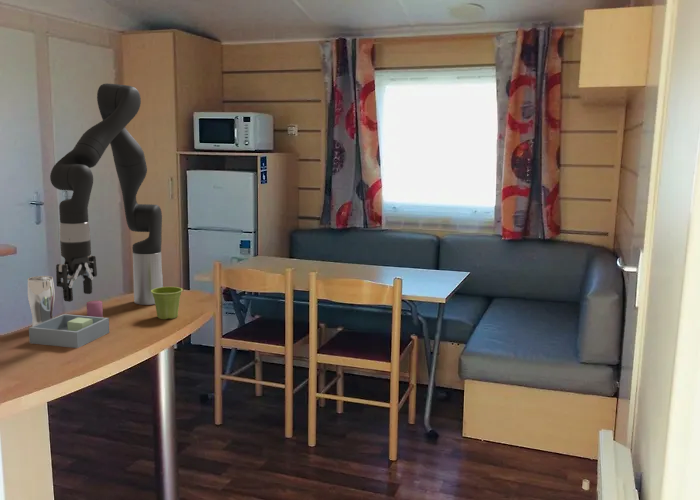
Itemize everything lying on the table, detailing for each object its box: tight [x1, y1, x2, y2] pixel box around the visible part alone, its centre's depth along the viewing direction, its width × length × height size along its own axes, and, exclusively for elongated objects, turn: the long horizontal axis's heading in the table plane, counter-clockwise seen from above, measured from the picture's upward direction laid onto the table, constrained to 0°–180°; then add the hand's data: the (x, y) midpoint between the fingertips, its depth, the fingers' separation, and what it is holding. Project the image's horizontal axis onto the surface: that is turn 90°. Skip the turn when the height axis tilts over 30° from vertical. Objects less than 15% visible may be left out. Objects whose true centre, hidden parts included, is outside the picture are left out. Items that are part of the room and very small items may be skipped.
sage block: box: [67, 318, 93, 331], centre depth 178 cm, size 5×5×5 cm
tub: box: [28, 313, 110, 349], centre depth 180 cm, size 15×15×4 cm
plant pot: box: [151, 286, 183, 320], centre depth 202 cm, size 9×9×9 cm
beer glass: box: [27, 275, 56, 327], centre depth 186 cm, size 7×7×15 cm
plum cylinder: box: [86, 300, 104, 318], centre depth 195 cm, size 4×4×6 cm
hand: (78, 297), depth 177 cm, fingers open, 8 cm apart
